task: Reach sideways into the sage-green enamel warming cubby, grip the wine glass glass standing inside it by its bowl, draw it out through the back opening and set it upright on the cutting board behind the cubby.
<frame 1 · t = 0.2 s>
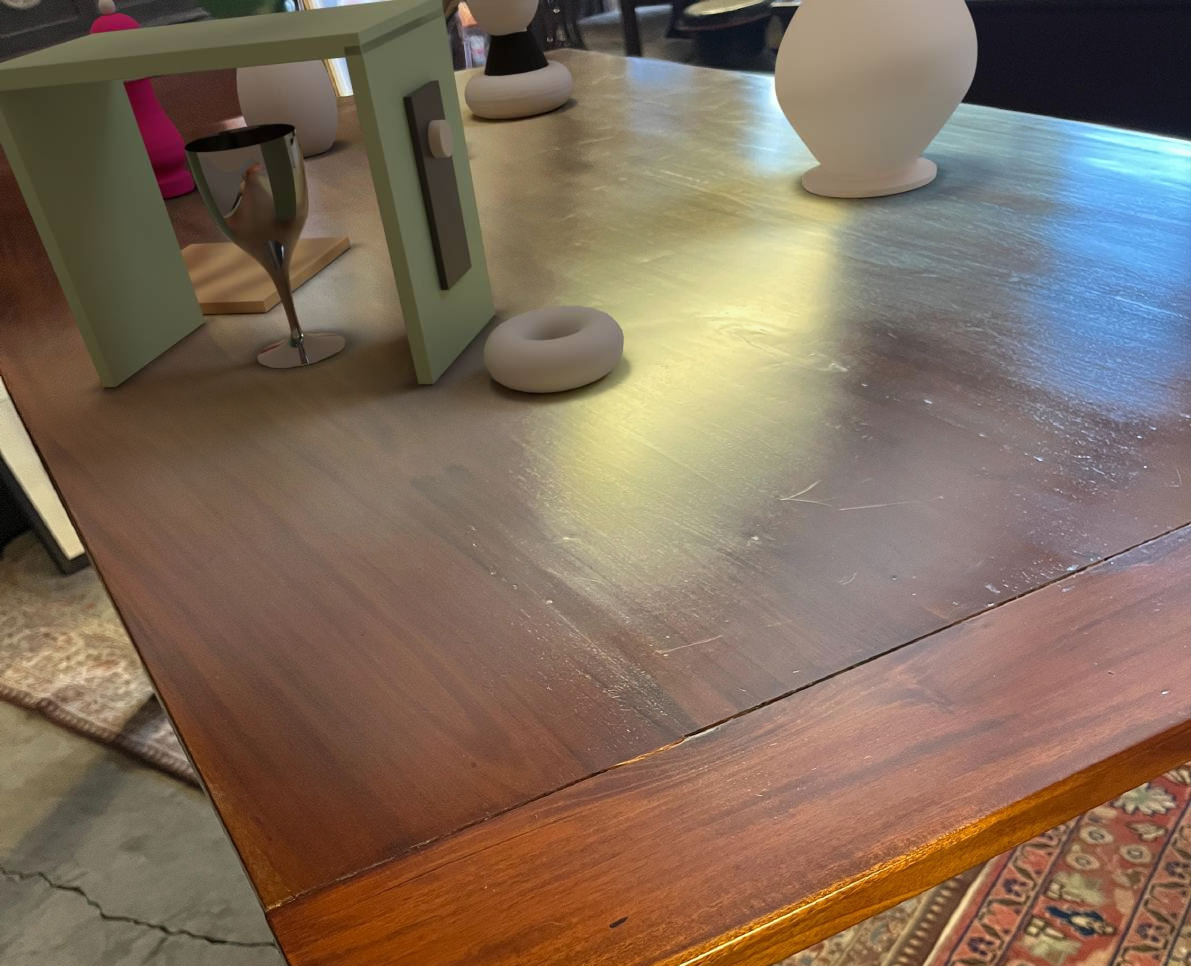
donut: (557, 374, 78), on the table
decorative vase: (868, 181, 106), on the table
decorative figurine: (521, 111, 150), on the table
wine glass: (302, 352, 88), on the table
cubby: (301, 350, 88), on the table
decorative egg: (301, 153, 146), on the table
pepper mill: (170, 194, 137), on the table
cutting board: (227, 280, 105), on the table
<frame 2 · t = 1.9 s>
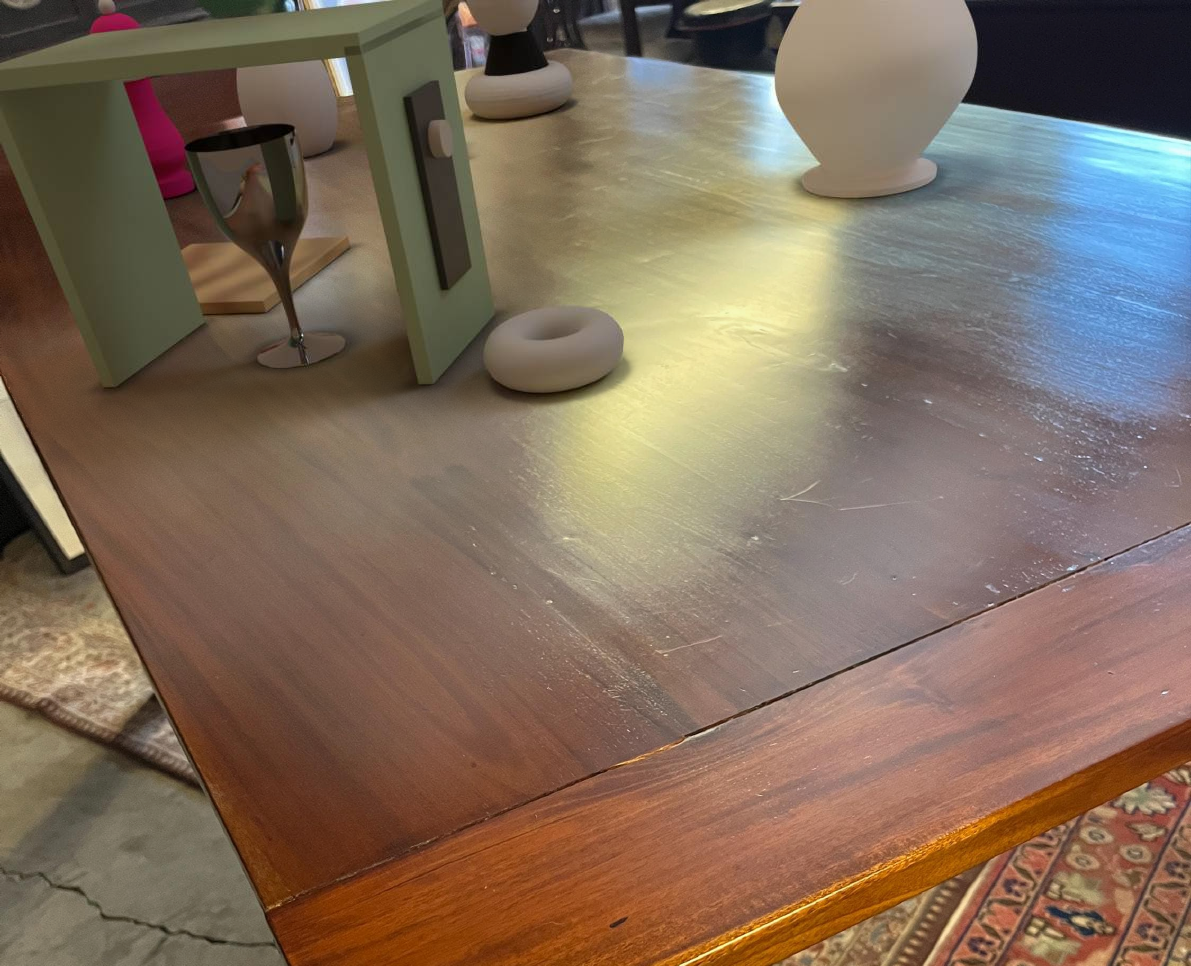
nothing on the table moved.
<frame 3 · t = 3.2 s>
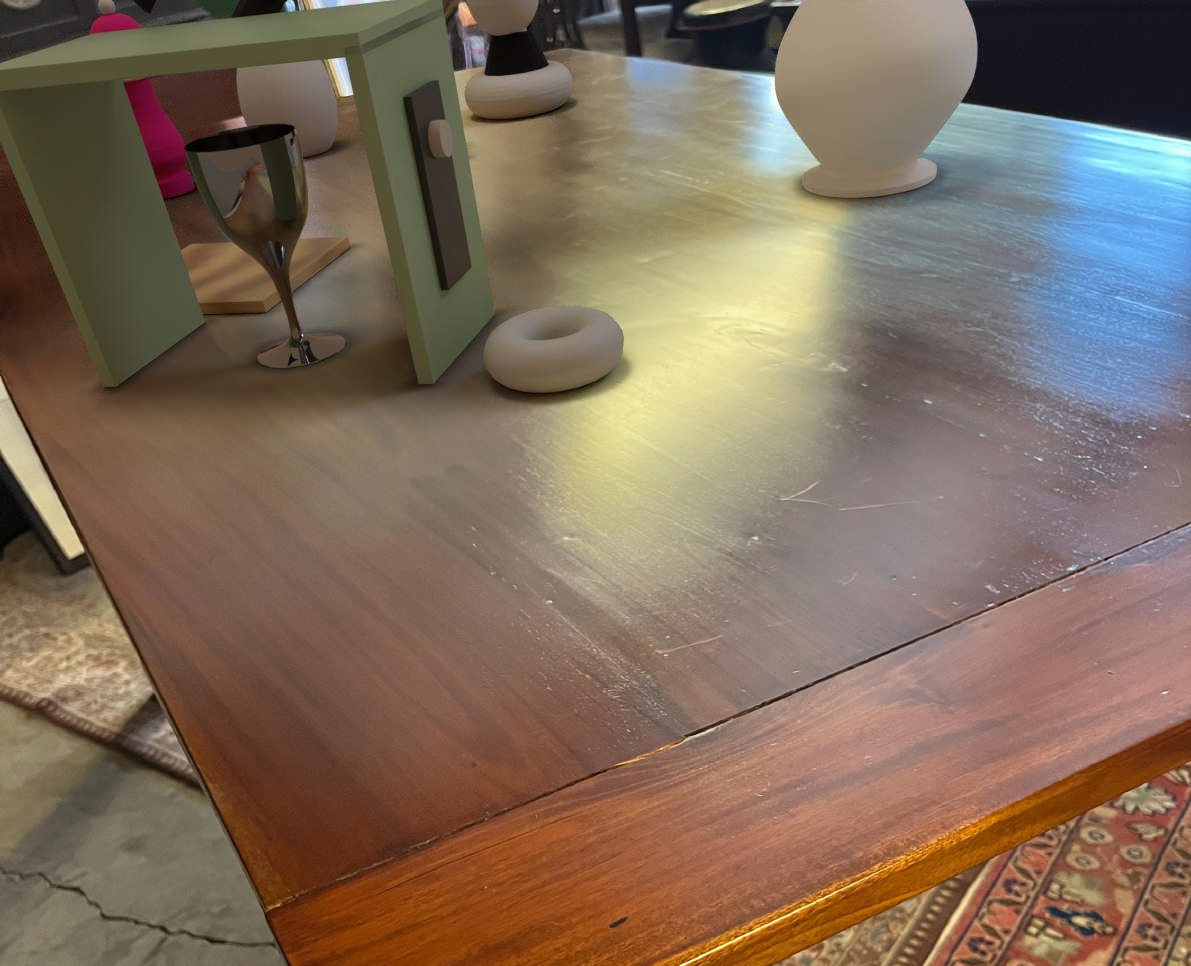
hand: (187, 17, 83), 21 cm above the table, tool tilted 50°, fingers open, 13 cm apart
nothing on the table moved.
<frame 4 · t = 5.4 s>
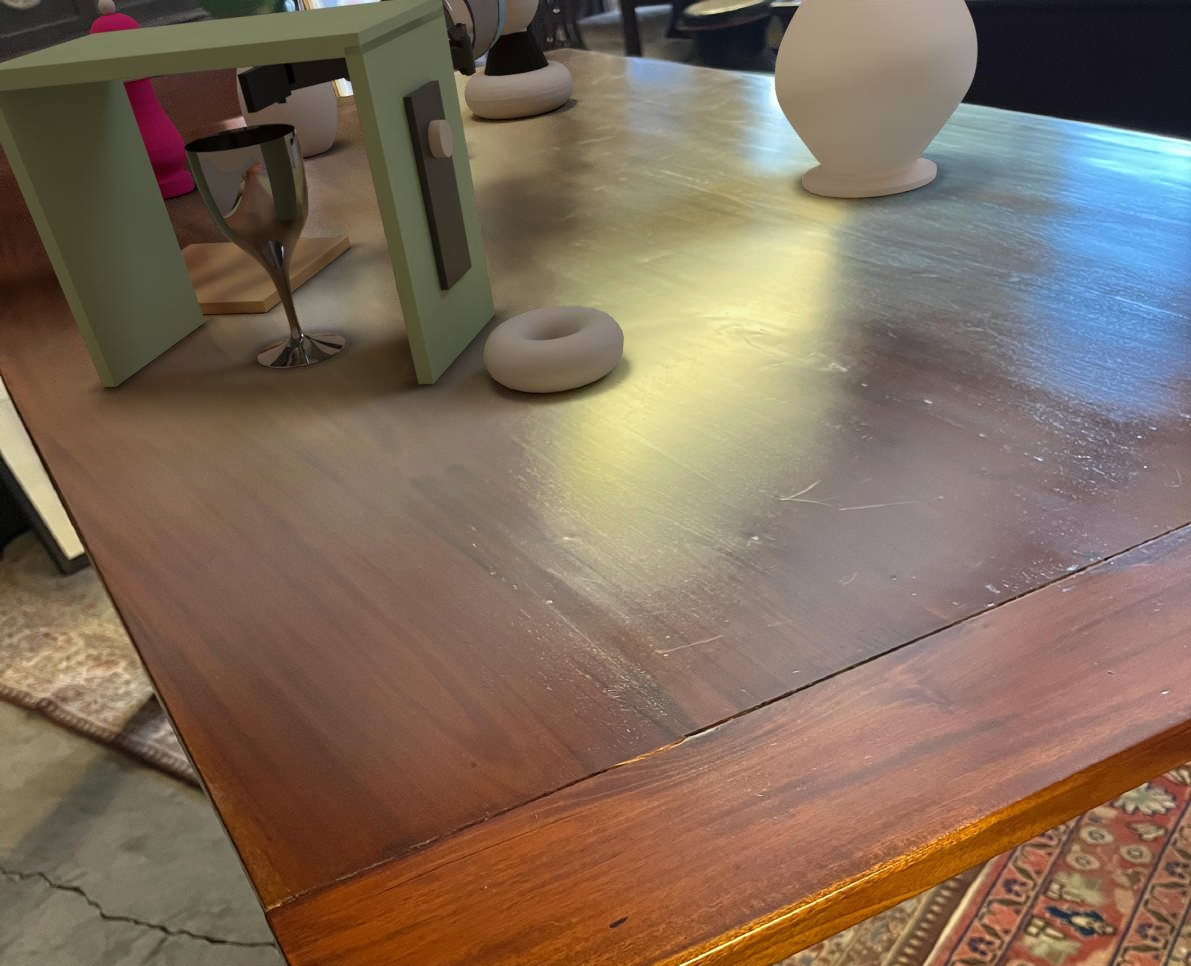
hand: (321, 86, 87), 16 cm above the table, tool horizontal, fingers open, 13 cm apart
nothing on the table moved.
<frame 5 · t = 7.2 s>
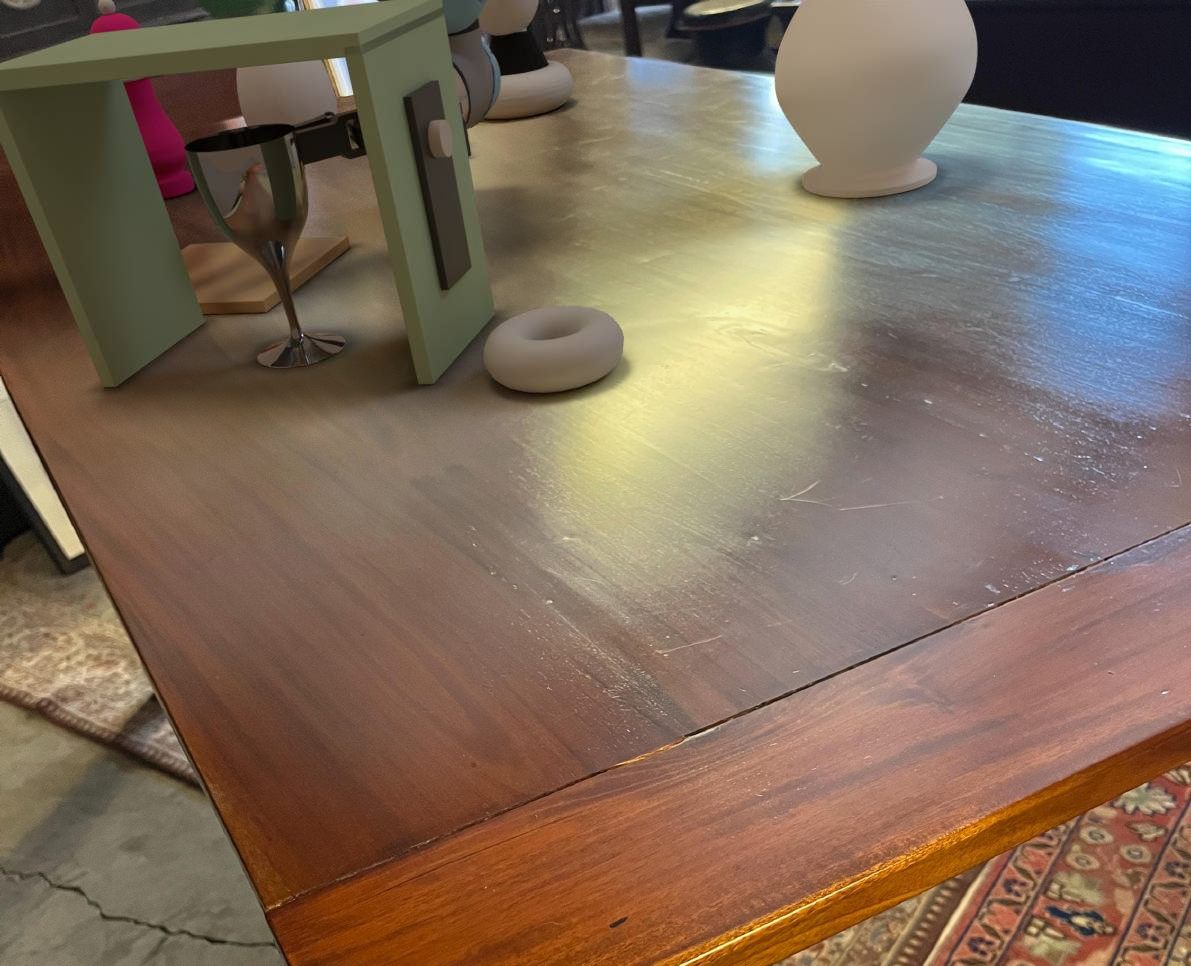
hand: (317, 172, 87), 10 cm above the table, tool horizontal, fingers open, 13 cm apart
nothing on the table moved.
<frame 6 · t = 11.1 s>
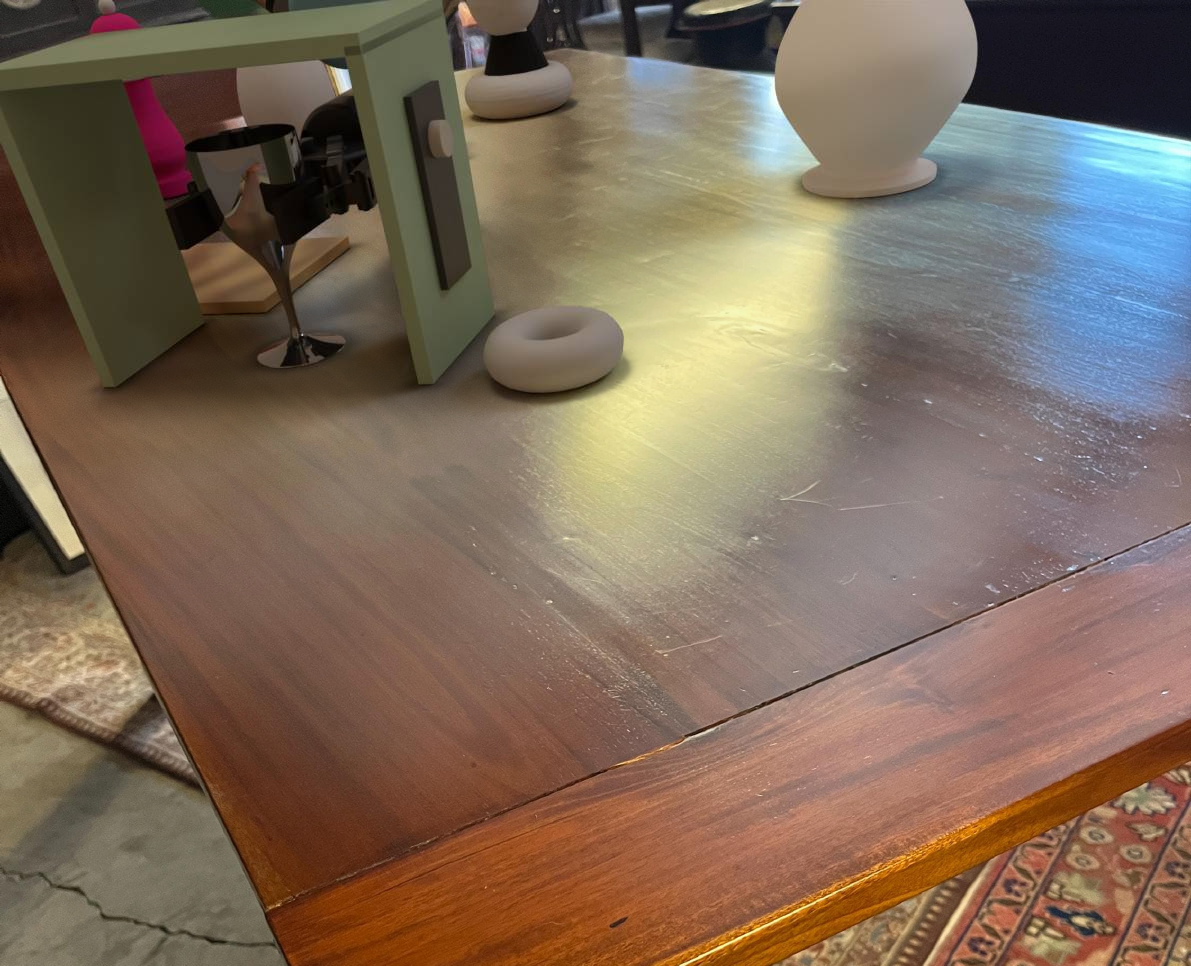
hand: (228, 226, 77), 10 cm above the table, tool horizontal, fingers closed on wine glass, 8 cm apart
wine glass: (302, 352, 88), on the table, touching gripper
everything else where it was.
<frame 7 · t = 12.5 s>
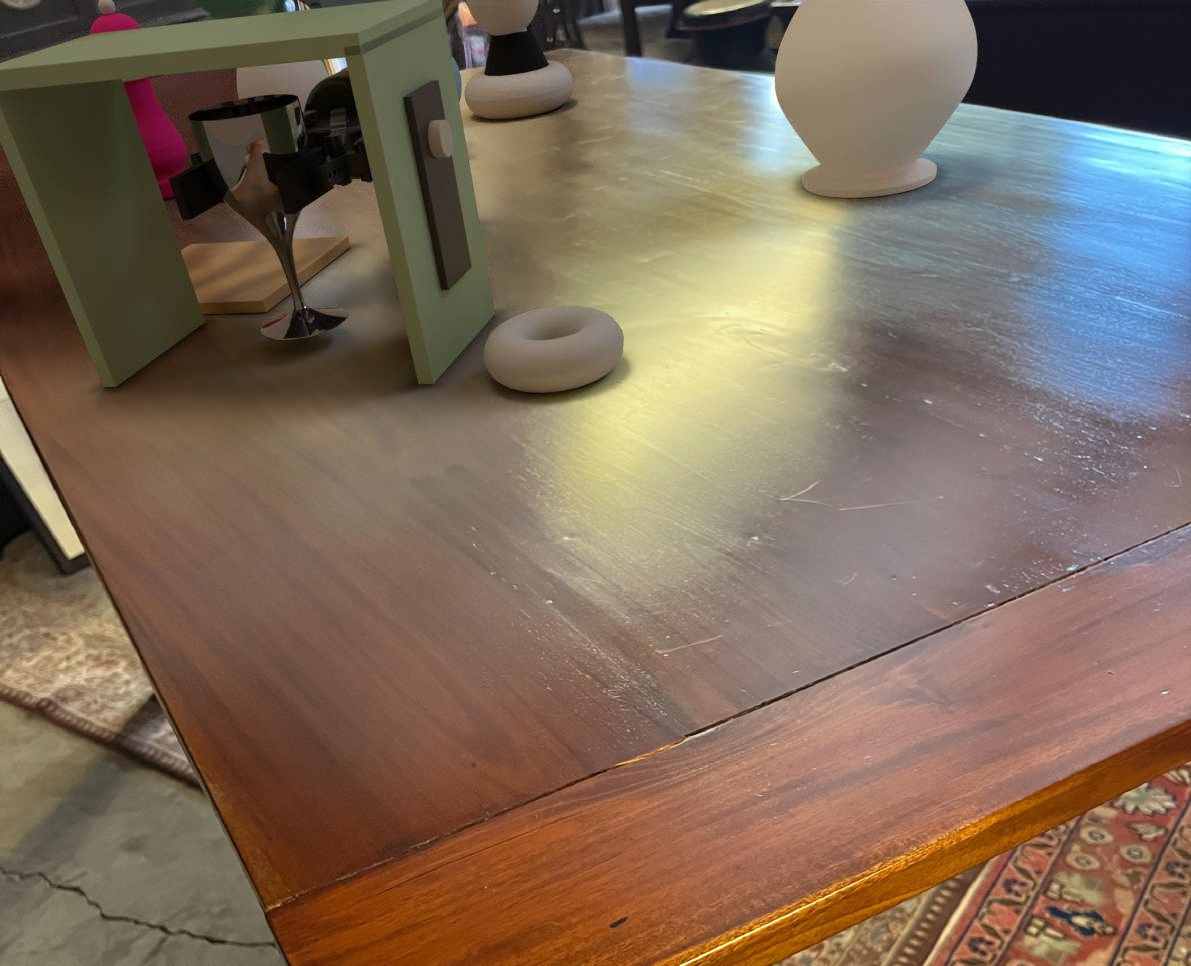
hand: (231, 196, 77), 12 cm above the table, tool horizontal, fingers closed on wine glass, 8 cm apart
wine glass: (305, 325, 88), point 1 cm above the table, touching gripper
everything else where it was.
when the fingers open (11 cm above the table, at t = 21.1 s): wine glass stays where it is, resting on cutting board.
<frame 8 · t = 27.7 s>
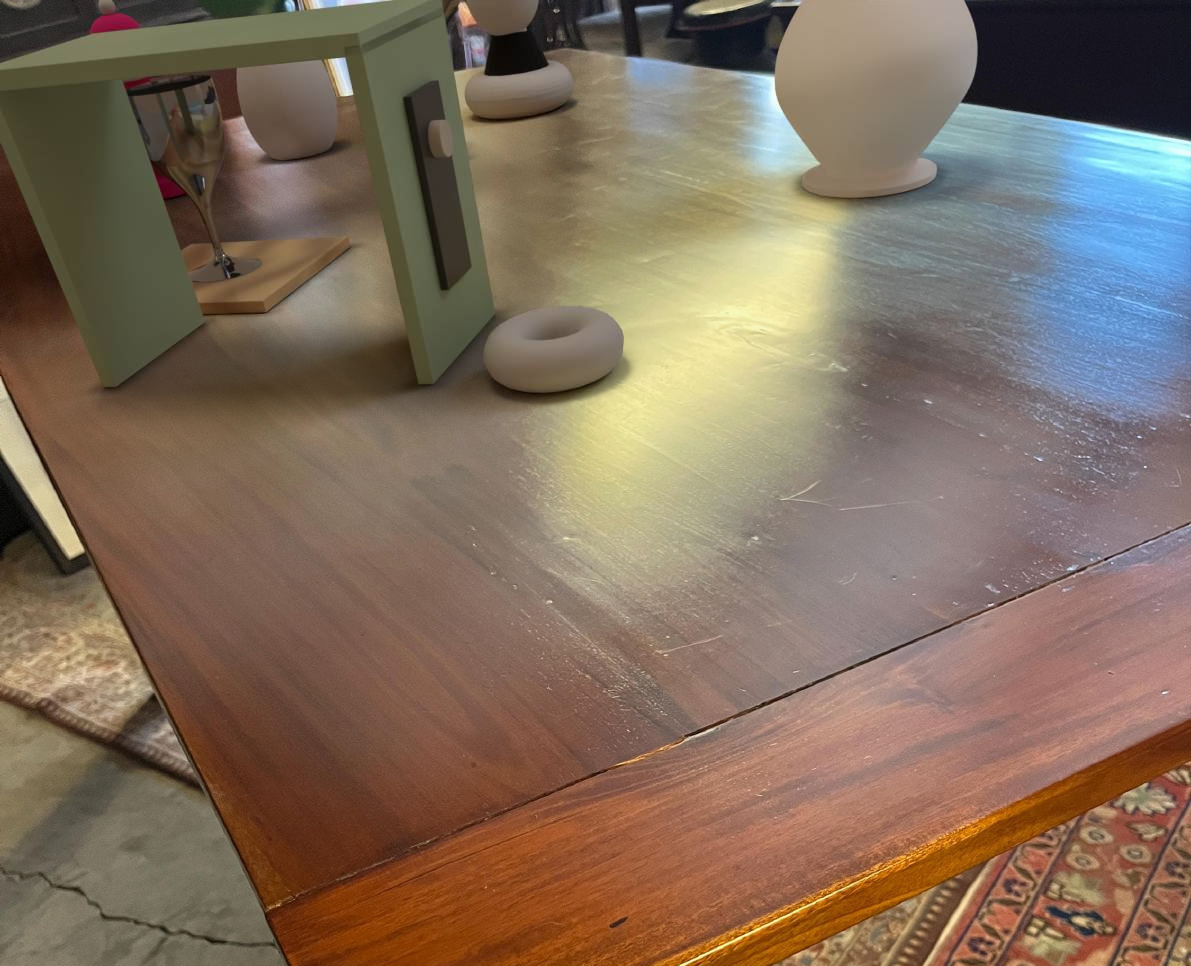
wine glass: (225, 271, 104), point 1 cm above the table, touching cutting board
everything else where it was.
at the end: wine glass inside the target area on the cutting board (0.1 cm from its centre), point 0.8 cm above the cutting board's base; wine glass tilted 0°; the gripper is holding nothing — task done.
